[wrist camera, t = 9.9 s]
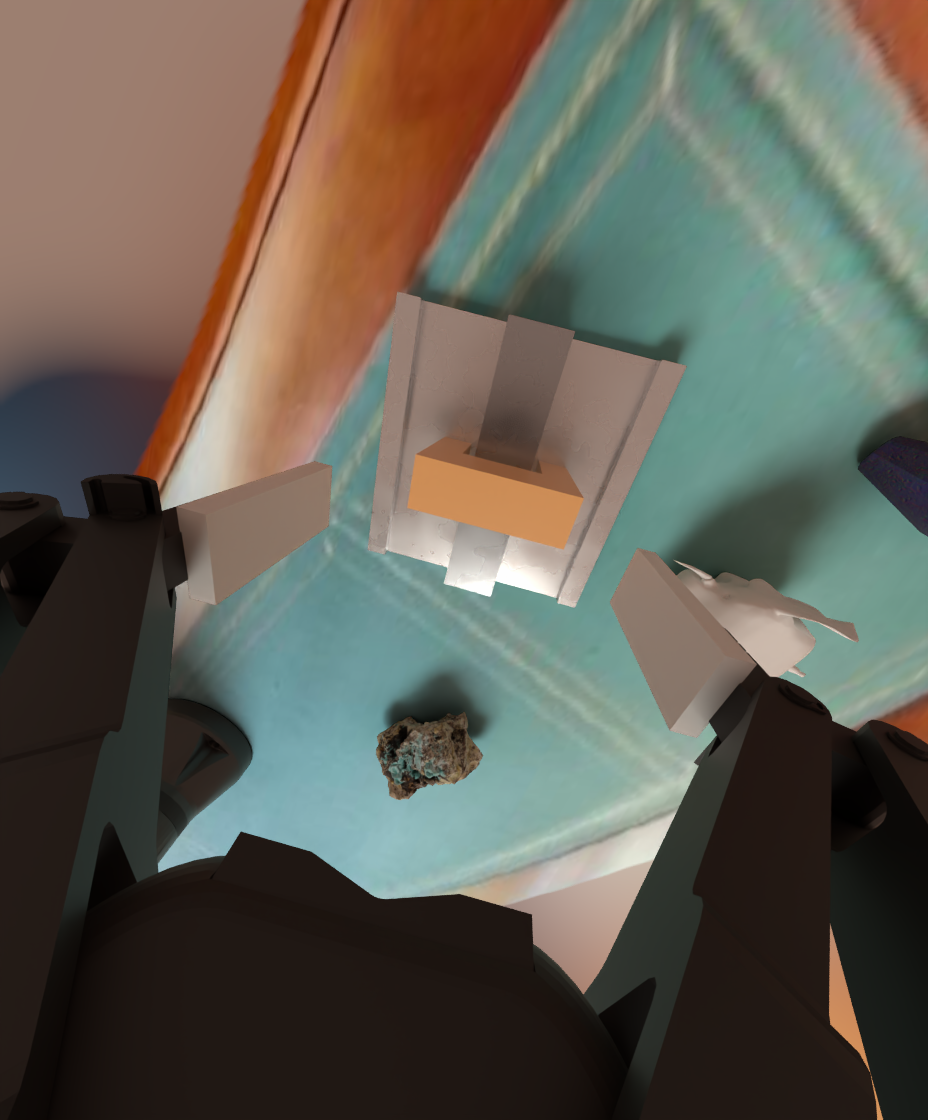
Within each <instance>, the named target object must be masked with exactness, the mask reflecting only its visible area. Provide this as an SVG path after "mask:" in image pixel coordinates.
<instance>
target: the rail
mask: <svg viewBox="0 0 928 1120" xmlns="http://www.w3.org/2000/svg"><path fill="white" fill-rule="evenodd" d="M574 334H575V331H572V330H568V329H565V328H561V327H557V326H553V325H549V324H545V323H541V322H537V321H533V320H529V319H526V318H522V317H518V316H514V315H510V314H509V316H508V320H507V322H505V321H501V320H497V319H493V318H489V317H486V316H482V315H478V314H474V313H470V312H466V311H462V310H458V309H454V308H451V307H447V306H443V305H439V304H435V303H431V302H427V301H424V300H423V299H422V298H420V297H416V296H413V295H409V294H405V293H401V292H397V299H396V307H395V316H394V325H393V334H392V342H391V351H390V360H389V369H388V377H387V386H386V395H385V404H384V412H383V421H382V430H381V439H380V447H379V456H378V465H377V474H376V482H375V491H374V500H373V509H372V517H371V526H370V535H369V544H368V550H370V551H374V552H378V553H381V554H386V552H387V551H391V552H395V553H398V554H402V555H405V556H409V557H413V558H416V559H420V560H423V561H427V562H430V563H434V564H438V565H441V566H445V567H448V569H447V573H446V577H445V582H444V584H448V585H451V586H455V587H459V588H462V589H466V590H469V591H473V592H476V593H480V594H483V595H487V596H491V593H492V590H493V587H494V584H495V581H499V582H502V583H506V584H509V585H513V586H516V587H520V588H524V589H527V590H531V591H534V592H538V593H542V594H545V595H549V596H552V597H556V599H557V603H560V604H564V605H567V606H571V607H574V608H575V606H576V603H577V601H578V599H579V597H580V595H581V593H582V591H583V588H584V586H585V584H586V582H587V580H588V578H589V575H590V573H591V571H592V569H593V567H594V565H595V563H596V560H597V558H598V556H599V554H600V552H601V550H602V548H603V545H604V543H605V541H606V539H607V537H608V535H609V532H610V530H611V528H612V526H613V524H614V522H615V520H616V517H617V515H618V513H619V511H620V509H621V507H622V504H623V502H624V500H625V498H626V496H627V494H628V492H629V489H630V487H631V485H632V483H633V481H634V479H635V477H636V474H637V472H638V470H639V468H640V466H641V464H642V461H643V459H644V457H645V455H646V453H647V451H648V449H649V446H650V444H651V442H652V440H653V438H654V436H655V434H656V431H657V429H658V427H659V425H660V423H661V421H662V418H663V416H664V414H665V412H666V410H667V408H668V406H669V403H670V401H671V399H672V397H673V395H674V393H675V390H676V388H677V386H678V384H679V382H680V380H681V378H682V375H683V373H684V371H685V369H686V367H687V366H685V365H681V364H677V363H673V362H669V361H666V360H658V361H657V360H653V359H649V358H645V357H641V356H637V355H633V354H629V353H626V352H622V351H618V350H614V349H610V348H606V347H602V346H598V345H594V344H591V343H587V342H583V341H579V340H575V339H573V337H574ZM444 437H449V438H452V439H456V440H460V441H464V442H468V443H472V445H471V450H470V454H469V455H471V456H475V457H479V458H482V459H486V460H490V461H494V462H498V463H502V464H506V465H509V466H513V467H517V468H521V469H525V470H529V471H532V472H536V469H537V465H538V462H539V461H541V462H545V463H549V464H553V465H557V466H561V467H564V468H566V469H567V470H568V472H569V474H570V475H571V477H572V479H573V481H574V482H575V484H576V486H577V487H578V489H579V491H580V492H581V494H582V496H583V497H584V500H583V502H582V505H581V507H580V510H579V512H578V515H577V517H576V520H575V522H574V525H573V527H572V530H571V532H570V535H569V537H568V540H567V542H566V545H565V548H564V550H563V549H559V548H556V547H552V546H548V545H544V544H541V543H537V542H533V541H529V540H526V539H522V538H518V537H514V536H511V535H507V534H503V533H499V532H496V531H492V530H488V529H484V528H481V527H477V526H473V525H469V524H466V523H462V522H458V521H454V520H451V519H447V518H443V517H439V516H436V515H432V514H428V513H424V512H421V511H417V510H413V509H409V508H407V506H408V500H409V493H410V487H411V480H412V474H413V468H414V461H415V455H416V454H417V453H419V452H420V451H422V450H424V449H425V448H427V447H429V446H430V445H432V444H434V443H436V442H437V441H439V440H441V439H442V438H444Z"/></svg>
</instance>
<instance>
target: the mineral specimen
mask: <svg viewBox="0 0 928 1120" xmlns="http://www.w3.org/2000/svg"><path fill="white" fill-rule="evenodd" d="M467 727H468V722H467V717H466V714H465V712H463V713H461V714H460V715H451V714H450V713H448V714H447V715H446V716H445V717H444V718H442V719H440V720H439V721H432V722H431V723H429V722H425V724H422V723H417V722H416V721H415V720H414V719H412V716H410V717H407V718H405V719H404V720H403V721H401V722H400V721H398V722H397V723H395V724H394V725H392V726H391V727H389V728H388V729H387V730H385V731H383V732H382V733H380V734H379V735H378V736H377V739H378V743H379V745H378V747H377V749H376V755H377V758H378V760H379V762H380V764H381V767H382V773H383V775H385V776H386V778H387V779H388V787H389V794H390V796H391V797H393V798H395V799H398V800H401V799H409V798H410V797H411V796H412V795H413V794H414V793H415V792H416V790H417V789H419V788H422V787H426V786H427V784H430V785H432V786H433V785H434V784H435V783H437V784H438V785H443V784H451V783H453V784H455V783H456V782H457V781H459V780H462V779H464V778H466V777H467V776H468V774H469V773H471V772H472V771H473V770H474V769H476V767H477V766H478V765H479V761H480V760H481V759H482V756H483V755H482V753H481V752H480V750H479V748H478V747H477V746H476V745H475V744H474V742H473V741H472V739H471V738H470V737H469V735H468V733H467Z"/></svg>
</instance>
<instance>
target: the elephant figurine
mask: <svg viewBox="0 0 928 1120" xmlns="http://www.w3.org/2000/svg"><path fill="white" fill-rule="evenodd" d="M674 561H675V560H674ZM676 562H678V561H676ZM678 563H679V564H681V565H683V566H685V567H687V568H689V569H686V570H683V571H681V572H680V573H679V574H678V575H677V577H678V578H679V579H680V580H681V581H682V582H683V584H684V585H685V586H686V587H687V588H688V589H689V590H690V591H691V592H692V593H693V595H694V596H695V597H696V598H697V599H698V600H699V601H700V602H701V603H702V604H703V606H704V607H705V608H706V609H707V610H708V611H709V612H710V613H711V614H712V616H713V617H714V618H715V619H716V620H717V621H718V622H719V623H720V624H721V625H722V627H724V628H725V629H726V630H728V631H729V632H730V633H731V635H732V636H733V637H734V638H735V639H736V640H737V641H738V643H739V644H741V645H742V647H743V648H744V649H745V650H746V652H747V653H749V654H750V655H751V656H752V657H753V659H754V660H755V661H756V662H757V663H758V664H759V665H760V666H761V667H762V668H763V670H764V671H765V672H766V673H767V674H768V675H769V676H770V677H779V676H780V675H782V674H783V673H784V672H786V671H787V670H788V671H790V672H792V673H795V674H798V675H799V676H800V677H804V676H805V675H806V674H805V673H803V672H800V670H799V669H798V668H797V667H796V666H795V664H797V663H798V662H799V661H801V660H802V659H803V658H804V657H805V656H806V655H808V654H809V653H810V652H811V651H812V649H813V647H814V645H815V643H816V640H815V638H814V637H813V636H812V634H811V633H810V632H809V630H808V629H807V628H806V626H805V625H804V624H803V622H802V621H801V620H800V619H799V618H802V619H806V620H811V621H814V622H818V623H820V624H822V625H824V626H826V627H827V628H829V629H831V630H833V631H834V632H836V633H838V634H840V635H842V636H844V637H846V638H848V639H850V640H852V641H855V642H858V641H859V639H858V636H857V633H856V631H855V627H854V624H853V623H850V622H843V621H837V620H833V619H830V618H826V617H825V616H824V615H823V614H822V613H821V612H819V611H818V610H817V609H816V608H814V607H812V606H810V605H808V604H806V603H803V602H801V601H798V600H795V599H792V598H789V597H785V596H783V595H782V594H780V593H779V592H778V591H777V590H775V589H774V588H773V587H772V586H771V585H770V584H769V583H767V582H766V581H764V580H763V579H752V580H750V581H748V580H746V579H743V578H741V577H739V576H736V575H734V574H731V573H727V572H723V573H721V574H720V575H718V576H717V577H716V578H715V579H713V578H712V576H710V575H709V574H707V573H705V572H703V571H701V570H699V569H697V568H695V567H693V566H691V565H688V564H685V563H681V562H678Z"/></svg>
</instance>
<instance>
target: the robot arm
mask: <svg viewBox="0 0 928 1120" xmlns="http://www.w3.org/2000/svg"><path fill="white" fill-rule="evenodd" d="M331 478H332V466H330V465H326V464H323V463H319V462H315V461H314V462H311V463H308V464H305V465H302V466H299V467H296V468H293V469H290V470H287V471H284V472H281V473H278V474H275V475H271V476H268V477H265V478H262V479H259V480H256V481H253V482H250V483H247V484H244V485H241V486H238V487H235V488H232V489H229V490H226V491H223V492H219V493H216V494H213V495H210V496H207V497H204V498H201V499H198V500H195V501H192V502H189V503H185V504H182V505H179V506H176V507H173V508H170V509H167V510H164V511H162V509H161V503H160V497H159V491H158V485H157V483H156V481H154V480H152V479H150V478H147V477H142V476H137V475H127V474H109V475H98V476H94V477H90V478H86V479H84V480H83V481H81V484H82V488H83V492H84V496H85V499H86V503H87V507H88V511H89V514H90V516H89V517H88V519H83V518H74V517H65V516H63V513H62V510H61V507H60V504H59V501H58V500H57V499H56V498H54V497H51V496H48V495H41V494H33V493H31V494H30V493H25V492H5V493H0V1120H877V1112H876V1111H877V1110H876V1100H875V1095H874V1090H873V1085H872V1080H873V1084H874V1087H875V1091H876V1094H877V1098H878V1102H879V1106H880V1110H881V1113H882V1117H883V1120H928V744H926V743H925V742H924V741H922V740H921V739H918V738H917V737H916V736H914V735H913V734H911V733H909V732H907V731H903V730H901V729H899V728H897V727H895V726H892V725H890V724H887V723H885V722H882V721H878V720H870V721H868V722H867V723H866V724H865V725H864V726H863V727H862V728H860V729H859V730H858V731H857V732H856V731H854V730H851V729H849V728H847V727H845V726H842V725H840V724H838V723H836V722H834V721H832V716H831V714H830V711H829V710H828V709H827V708H826V706H825V705H823V703H822V702H820V701H819V700H818V699H817V698H815V697H814V696H813V695H812V694H810V693H809V692H808V691H806V690H805V689H803V688H801V687H799V686H797V685H795V684H793V683H791V682H789V681H787V680H784V679H781V678H778V677H770V676H769V675H768V674H767V673H766V672H765V671H764V670H763V668H762V667H761V666H760V665H759V664H758V663H757V662H756V661H755V660H754V659H753V657H752V656H751V655H750V654H749V653H747V652H746V650H745V649H744V648H743V647H742V645H741V644H739V643H738V641H737V640H736V639H735V638H734V637H733V636H732V635H731V633H730V632H729V631H728V630H726V629H725V628H724V627H722V625H721V624H720V623H719V622H718V621H717V620H716V619H715V618H714V617H713V616H712V614H711V613H710V612H709V611H708V610H707V609H706V608H705V607H704V606H703V604H702V603H701V602H700V601H699V600H698V599H697V598H696V597H695V596H694V595H693V593H692V592H691V591H690V590H689V589H688V588H687V587H686V586H685V585H684V584H683V582H682V581H681V580H680V579H679V578H678V577H677V576H676V575H675V574H674V573H673V571H672V570H671V569H670V568H669V567H668V566H667V565H666V564H665V563H664V562H663V560H662V559H661V558H660V557H659V556H658V555H657V554H656V553H654V552H651V551H647V550H643V549H639V548H637V550H636V552H635V554H634V556H633V558H632V560H631V562H630V564H629V566H628V568H627V570H626V572H625V573H624V575H623V577H622V579H621V581H620V583H619V585H618V587H617V589H616V591H615V593H614V595H613V597H612V599H611V601H610V604H611V606H612V608H613V610H614V612H615V614H616V617H617V619H618V621H619V623H620V625H621V627H622V629H623V632H624V634H625V636H626V638H627V640H628V642H629V644H630V647H631V649H632V651H633V653H634V655H635V657H636V659H637V662H638V664H639V666H640V668H641V670H642V672H643V674H644V676H645V679H646V681H647V683H648V685H649V687H650V689H651V691H652V694H653V696H654V698H655V700H656V702H657V704H658V706H659V709H660V711H661V713H662V715H663V717H664V719H665V721H666V724H667V726H668V728H669V730H670V731H674V732H677V733H681V734H684V735H688V736H692V737H695V738H697V737H698V736H699V735H700V733H701V732H702V731H703V730H704V729H705V727H706V726H707V725H708V724H709V722H710V724H711V726H712V727H713V729H714V731H715V732H716V734H717V736H716V737H715V738H714V739H713V741H712V742H711V743H710V744H709V745H708V746H707V748H706V749H705V750H704V751H703V752H702V753H701V755H700V756H699V757H698V758H697V759H696V760H695V762H694V763H695V764H697V765H699V767H698V769H697V771H696V773H695V775H694V777H693V779H692V781H691V783H690V785H689V788H688V790H687V792H686V794H685V796H684V798H683V800H682V802H681V804H680V806H679V809H678V811H677V813H676V815H675V817H674V819H673V821H672V823H671V825H670V827H669V830H668V832H667V834H666V836H665V838H664V840H663V842H662V844H661V846H660V848H659V851H658V853H657V855H656V857H655V859H654V861H653V863H652V865H651V867H650V869H649V872H648V874H647V876H646V878H645V880H644V882H643V884H642V886H641V888H640V890H639V893H638V895H637V897H636V899H635V901H634V904H633V905H632V907H631V909H630V912H629V914H628V916H627V918H626V920H625V922H624V924H623V926H622V928H621V930H620V932H619V935H618V937H617V939H616V941H615V943H614V945H613V947H612V949H611V952H610V953H609V956H608V958H607V960H606V962H605V963H604V966H603V967H602V969H601V970H600V972H599V974H598V975H597V977H596V978H595V979H594V981H593V982H592V984H591V985H590V986H589V988H588V989H587V991H586V992H585V994H584V995H583V994H582V992H581V991H580V989H579V988H578V987H577V985H576V984H575V983H574V982H573V981H572V980H571V979H570V977H569V976H568V975H567V974H566V973H565V972H564V971H563V970H562V969H561V967H560V966H559V965H558V964H557V963H556V962H554V961H553V960H552V959H551V958H550V957H549V956H548V955H547V954H546V953H544V952H543V951H542V950H541V949H539V948H538V947H537V946H535V945H534V944H533V934H532V933H533V932H532V915H531V914H528V913H524V912H521V911H517V910H514V909H510V908H507V907H503V906H500V905H496V904H493V903H489V902H486V901H482V900H479V899H475V898H472V897H468V896H465V895H461V894H455V895H440V896H426V897H412V898H397V899H380V898H377V897H374V896H372V895H371V894H369V893H368V892H367V891H365V890H364V889H362V888H361V887H360V886H358V885H357V884H356V883H354V882H353V881H351V880H350V879H349V878H347V877H346V876H344V875H343V874H342V873H340V872H339V871H337V870H336V869H335V868H333V867H332V866H331V865H329V864H328V863H326V862H325V861H324V860H322V859H321V858H319V857H318V856H317V855H315V854H314V853H312V852H310V851H307V850H303V849H300V848H296V847H293V846H289V845H286V844H282V843H279V842H275V841H272V840H268V839H265V838H261V837H258V836H254V835H251V834H247V833H244V832H240V834H239V835H238V837H237V839H236V840H235V842H234V843H233V845H232V847H231V848H230V850H229V851H228V853H227V855H226V856H215V857H210V858H205V859H199V860H194V861H191V862H188V863H184V864H181V865H178V866H175V867H171V868H169V869H166V870H164V871H161V872H159V873H158V863H159V862H160V860H161V859H162V858H163V856H164V855H165V854H166V852H167V851H168V850H169V848H170V847H171V846H172V844H173V843H174V842H175V840H176V839H177V838H178V836H179V835H180V834H181V833H182V831H183V830H184V829H185V827H186V826H187V825H188V824H189V822H190V821H191V820H192V819H193V818H194V817H195V816H196V815H198V814H199V813H200V812H201V811H202V810H204V809H205V808H206V807H207V806H208V805H210V804H211V803H212V802H213V801H214V800H216V799H217V798H218V797H219V796H220V795H222V794H223V793H224V792H225V791H226V790H228V789H229V788H230V787H231V786H232V785H234V784H235V783H236V782H237V781H238V780H239V778H240V777H241V776H242V774H243V773H244V772H245V770H246V769H247V768H248V766H249V765H250V763H251V759H252V753H251V749H250V746H249V744H248V742H247V740H246V738H245V737H244V736H243V734H242V733H241V732H240V731H239V730H238V729H237V728H236V727H235V726H234V725H233V724H232V723H231V722H230V721H228V720H227V719H226V718H224V717H223V716H222V715H220V714H218V713H217V712H215V711H213V710H211V709H209V708H207V707H205V706H203V705H200V704H197V703H194V702H191V701H187V700H181V699H168V692H169V681H170V669H171V658H172V646H173V634H174V623H175V611H176V599H177V598H176V592H175V587H176V586H178V585H179V584H181V583H183V582H185V581H186V580H187V583H188V590H189V596H190V598H191V599H195V600H198V601H202V602H206V603H209V604H213V605H217V604H218V603H220V602H221V601H223V600H224V599H225V598H227V597H228V596H230V595H231V594H233V593H234V592H235V591H237V590H238V589H240V588H241V587H243V586H244V585H245V584H247V583H248V582H250V581H251V580H253V579H254V578H255V577H257V576H258V575H260V574H261V573H262V572H264V571H265V570H267V569H268V568H270V567H271V566H272V565H274V564H275V563H277V562H278V561H280V560H281V559H282V558H284V557H285V556H287V555H288V554H290V553H291V552H292V551H294V550H295V549H297V548H298V547H300V546H301V545H302V544H304V543H305V542H307V541H308V540H310V539H311V538H312V537H314V536H315V535H317V534H318V533H319V532H321V531H322V530H324V529H325V528H327V527H328V526H329V510H330V494H331ZM830 924H831V928H832V931H833V935H834V939H835V943H836V946H837V950H838V953H839V957H840V961H841V965H842V969H843V972H844V976H845V980H846V983H847V987H848V991H849V994H850V998H851V1002H852V1006H853V1009H854V1013H855V1016H856V1020H857V1024H858V1028H859V1032H860V1035H861V1039H862V1043H863V1046H864V1050H865V1053H866V1057H867V1061H868V1065H869V1069H870V1072H871V1074H870V1072H869V1070H868V1068H867V1066H866V1065H865V1063H864V1061H863V1059H862V1058H861V1056H860V1054H859V1053H858V1051H857V1050H856V1049H854V1048H853V1046H852V1045H851V1044H850V1043H848V1041H846V1040H845V1038H843V1037H842V1036H841V1035H840V1034H839V1033H838V1032H837V1031H836V1030H835V1029H834V1028H833V1027H832V1026H831V1025H830V1018H829V962H830V959H829V958H830V956H829V955H830ZM871 1076H872V1080H871Z"/></svg>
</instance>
